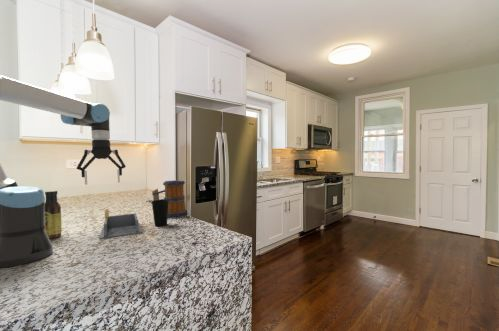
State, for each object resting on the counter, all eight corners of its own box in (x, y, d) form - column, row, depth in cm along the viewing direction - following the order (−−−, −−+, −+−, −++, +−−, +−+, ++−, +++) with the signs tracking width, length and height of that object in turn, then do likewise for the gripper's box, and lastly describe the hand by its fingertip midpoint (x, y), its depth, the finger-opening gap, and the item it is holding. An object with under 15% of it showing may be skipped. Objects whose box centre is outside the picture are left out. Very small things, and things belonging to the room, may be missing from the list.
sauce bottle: (41, 237, 102) (40, 191, 102) (60, 233, 106) (58, 189, 106) (44, 240, 97) (42, 192, 97) (63, 236, 102) (61, 190, 102)
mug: (155, 221, 126) (153, 183, 125) (150, 216, 138) (149, 181, 138) (191, 216, 136) (190, 181, 135) (184, 211, 148) (183, 179, 148)
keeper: (142, 232, 105) (141, 212, 105) (99, 239, 97) (98, 217, 97) (139, 223, 121) (138, 206, 121) (102, 228, 113) (101, 209, 113)
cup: (172, 224, 117) (171, 200, 117) (157, 228, 112) (156, 202, 112) (164, 222, 123) (163, 199, 122) (149, 225, 117) (149, 201, 117)
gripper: (128, 140, 126) (130, 180, 127) (70, 139, 113) (72, 184, 113) (130, 139, 120) (132, 181, 120) (68, 138, 107) (70, 185, 107)
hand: (102, 183), depth 117 cm, fingers open, 13 cm apart
